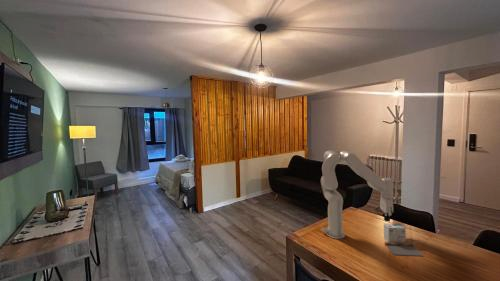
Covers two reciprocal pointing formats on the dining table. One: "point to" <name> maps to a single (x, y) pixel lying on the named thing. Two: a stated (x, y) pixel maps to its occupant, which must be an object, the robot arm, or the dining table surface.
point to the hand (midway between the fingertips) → (387, 220)
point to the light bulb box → (394, 233)
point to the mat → (404, 250)
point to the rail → (398, 244)
